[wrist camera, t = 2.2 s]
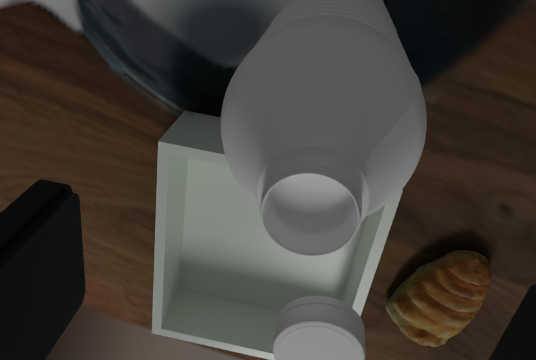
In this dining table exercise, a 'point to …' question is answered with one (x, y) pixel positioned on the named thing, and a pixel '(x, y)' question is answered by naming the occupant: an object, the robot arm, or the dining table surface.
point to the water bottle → (323, 146)
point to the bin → (237, 251)
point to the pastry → (440, 297)
